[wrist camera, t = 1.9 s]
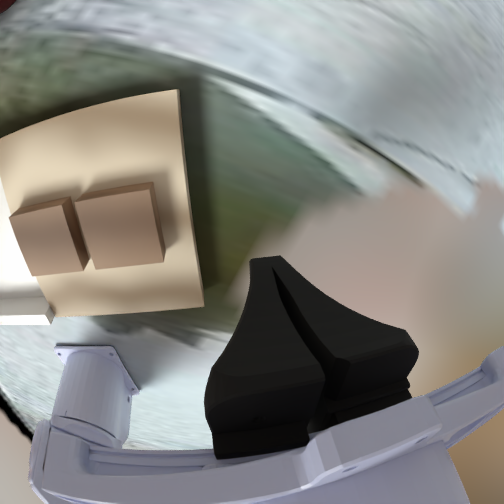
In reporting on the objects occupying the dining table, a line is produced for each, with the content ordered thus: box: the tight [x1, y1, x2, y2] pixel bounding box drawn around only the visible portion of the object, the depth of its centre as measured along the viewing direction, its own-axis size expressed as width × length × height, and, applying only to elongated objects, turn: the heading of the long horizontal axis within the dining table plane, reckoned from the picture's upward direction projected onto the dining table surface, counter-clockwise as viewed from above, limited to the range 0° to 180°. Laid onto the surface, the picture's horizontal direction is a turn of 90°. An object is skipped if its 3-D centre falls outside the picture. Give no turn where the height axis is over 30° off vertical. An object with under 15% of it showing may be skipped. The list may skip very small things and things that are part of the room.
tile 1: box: [74, 182, 166, 270], centre depth 17 cm, size 5×5×2 cm
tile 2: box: [9, 196, 90, 277], centre depth 17 cm, size 5×5×2 cm
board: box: [0, 89, 204, 317], centre depth 18 cm, size 16×14×2 cm
